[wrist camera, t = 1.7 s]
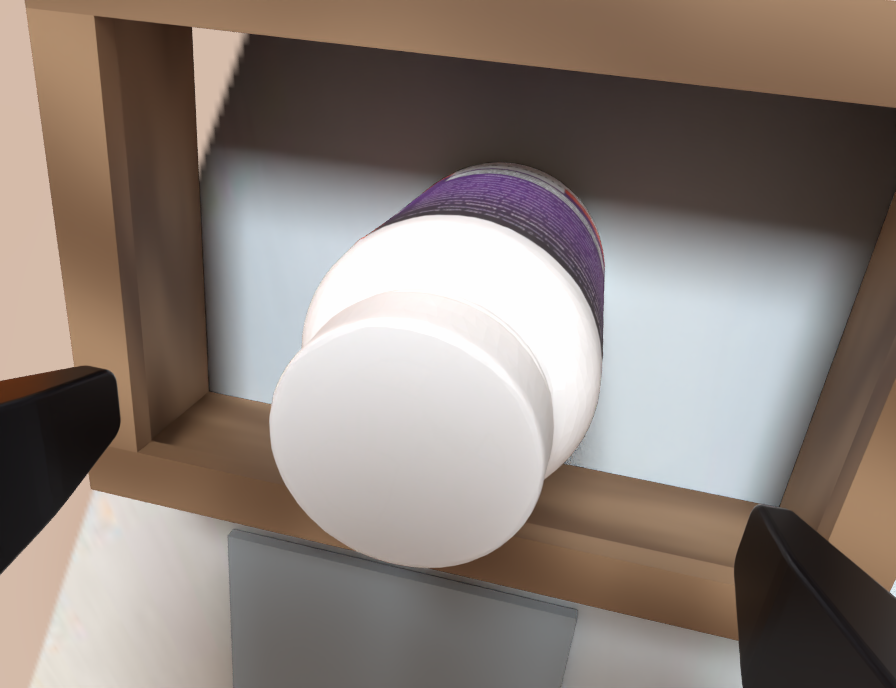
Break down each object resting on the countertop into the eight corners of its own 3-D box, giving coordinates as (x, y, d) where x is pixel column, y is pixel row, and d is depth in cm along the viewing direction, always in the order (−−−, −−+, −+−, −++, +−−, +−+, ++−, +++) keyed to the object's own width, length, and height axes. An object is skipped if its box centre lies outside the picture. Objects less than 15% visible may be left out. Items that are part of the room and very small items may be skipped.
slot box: (800, 536, 19) (853, 667, 15) (187, 408, 22) (90, 488, 18) (996, 35, 14) (1160, 24, 10) (159, -47, 17) (13, -81, 13)
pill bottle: (406, 150, 18) (205, 241, 9) (620, 169, 17) (635, 294, 8) (400, 342, 20) (233, 572, 11) (588, 369, 19) (572, 643, 10)
